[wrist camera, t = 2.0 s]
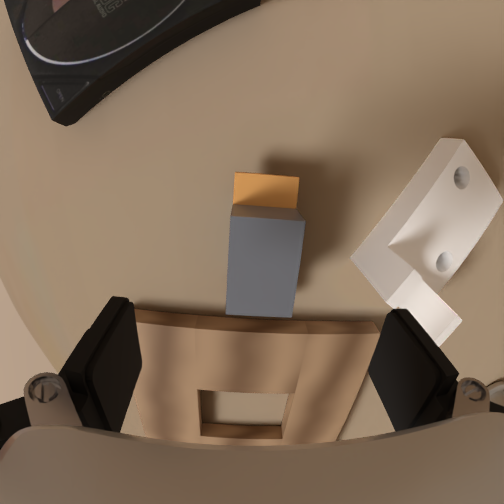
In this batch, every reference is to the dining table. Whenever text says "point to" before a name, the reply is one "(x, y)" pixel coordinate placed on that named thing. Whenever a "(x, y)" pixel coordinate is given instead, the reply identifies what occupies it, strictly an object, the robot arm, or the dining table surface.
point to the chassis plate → (249, 374)
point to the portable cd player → (104, 43)
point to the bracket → (430, 235)
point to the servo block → (264, 245)
